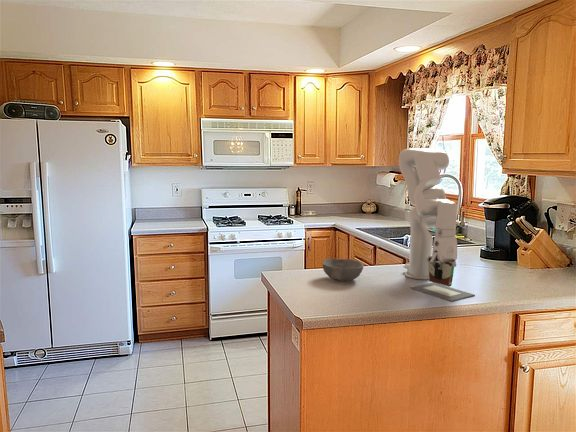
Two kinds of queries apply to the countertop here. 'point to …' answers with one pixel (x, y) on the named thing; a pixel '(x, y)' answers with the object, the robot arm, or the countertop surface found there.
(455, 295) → the mat
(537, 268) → the countertop surface
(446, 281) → the food container
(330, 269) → the bowl
